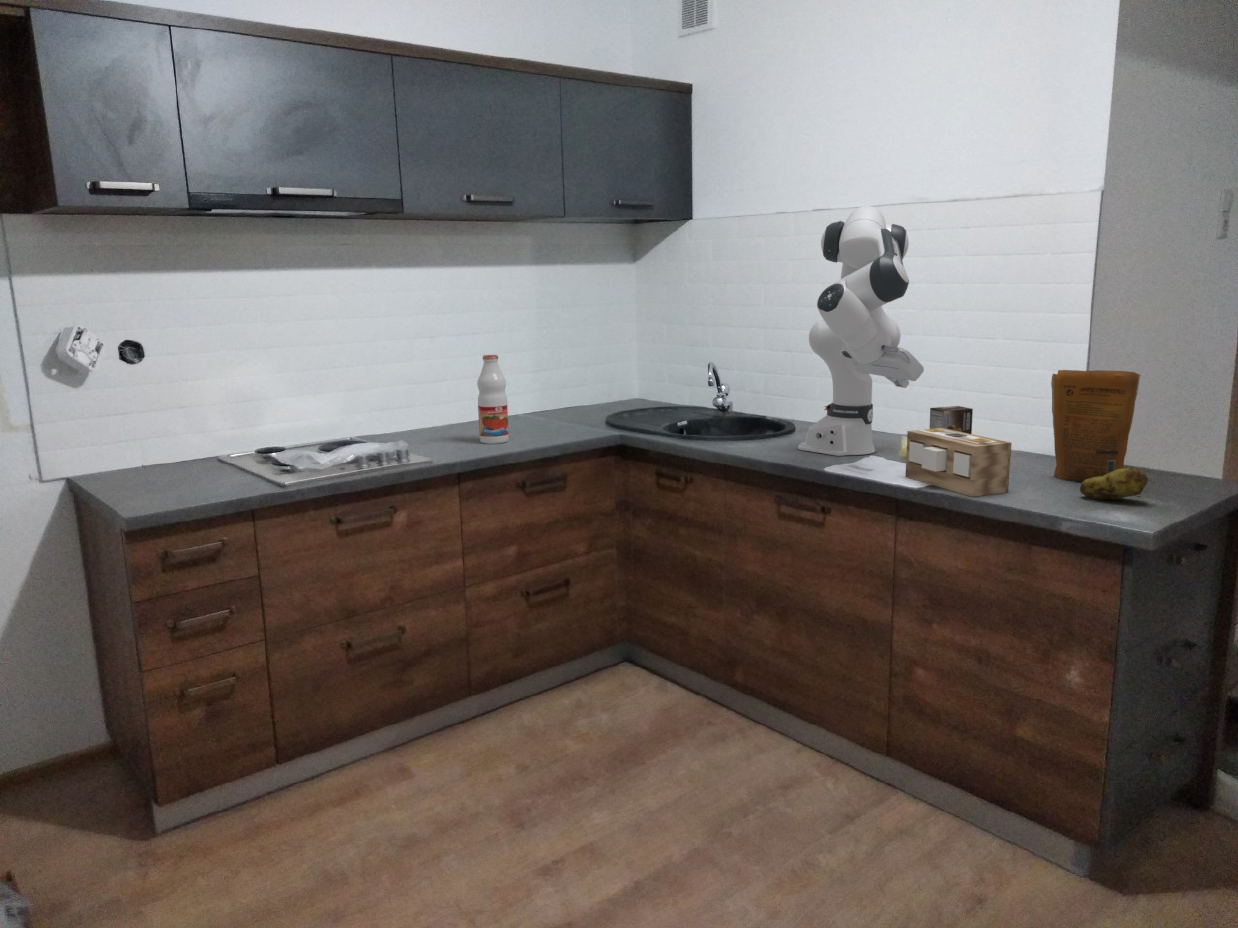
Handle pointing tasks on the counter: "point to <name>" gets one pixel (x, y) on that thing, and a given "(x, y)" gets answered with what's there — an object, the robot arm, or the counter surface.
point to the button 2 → (962, 463)
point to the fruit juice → (492, 403)
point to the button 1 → (916, 451)
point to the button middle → (934, 458)
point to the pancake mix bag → (1091, 421)
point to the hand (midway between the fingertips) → (903, 385)
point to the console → (985, 463)
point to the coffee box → (952, 418)
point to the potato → (1115, 484)
